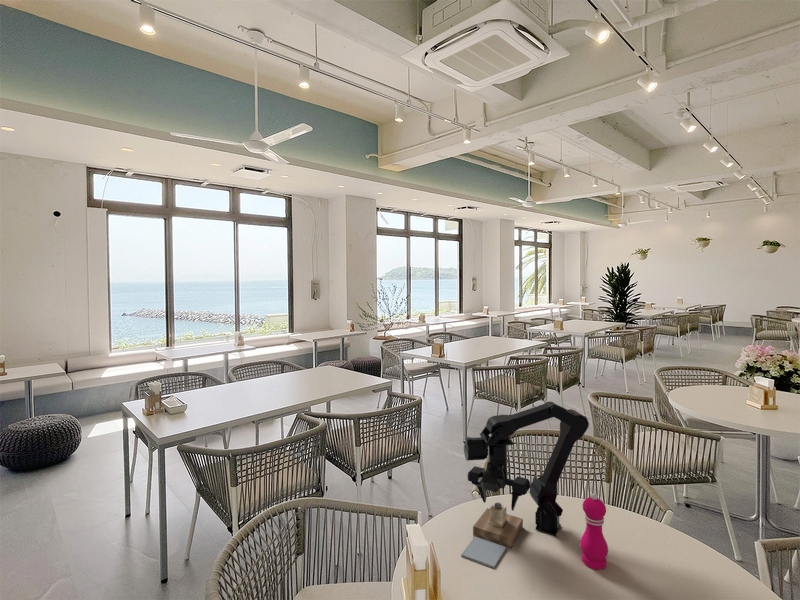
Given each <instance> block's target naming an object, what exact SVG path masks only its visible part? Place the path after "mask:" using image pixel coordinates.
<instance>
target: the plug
mask: <svg viewBox="0 0 800 600" xmlns="http://www.w3.org/2000/svg"><path fill="white" fill-rule="evenodd" d="M489 509H490V525H493V526H496V527H500V528H504V526H505V525H506V514H507V505H504V504H502V503H501V502H494V503H493V504H492V505H491V506H490V508H489Z"/></svg>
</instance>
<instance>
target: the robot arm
mask: <svg viewBox="0 0 800 600" xmlns="http://www.w3.org/2000/svg"><path fill="white" fill-rule="evenodd" d="M552 418H555V419H557V420H559V421H560V423H559V436H558V439H557V440H556V442H555V445H554V448H553V450H552V451H551V454H550V457H549V459H548V462H547V463H546V465H545V468H544V471H543V473H542V475H540V476H539V477H536V476H533V478H532V481H530V480H529V478H527V477H523V476H516V477H515V478H514V479H512V478H508V476H510V475H509V471H508V464H509V459H508V446H512V445H513V446H514V444H515V443H514V441H513V440H511V438H510V437H511V436H513V435H514V434H515V433H516V432H517V431H518V430H520V429H523V428H526V427H528V426H532V425H535V424H537V423H541V422H543V421H546V420H548V419H552ZM589 425H590V423H589V420H588V418H587V417H586V416H585V415H583V414H581V413H580V412H579V411H577V410H576V409H567V408H565V407H563V406H560V405H559V404H556V403H555V402H554V401H546V402H545V403H543V404H541V405H537V406H534V407H531V408H528V409H525V410H522V411H519V412H517V413H513V414H498V415H493V416H490V417H489V418H488V419H487V420H486V425H485V427H484V428H483V430H481V432H480V433H479V436H480V437H469V436H467V437H465V441H464V445H463V452H464V458H465V460H466V461H481V460H483V461H484V460H486V459H488V462H486V469H485V467H480V466H477V465H476V466H473V467H472V468H471V469H470V470H469V471H468V472H467V481H468V482H471V484H472V485H474V486H475V487H477V489H478V491H479V494H480V496H481V499H482V502H483V503H484V504H485V503H486V502H487V491H490V492H492V493H497V492H498V491H499V490H500V489H505V488H506V486H510V487H511V490H512V492H511V493H510V494H511V505H510V506H511V507H510V508H511V511H514V510H515V508H516V505H517V502H518V500H519V497H522V496H525V495H526V494H527V493H528V491H529V495H530V497H531V498H532V499H533V501H534V503H535V504H536V505H537V507H536V508H537V509H536V511H535V513H534V514H535V519H534V520H535V530H536V531H539V532H543V533H546V534H548V535H552V536H558V533H559V531H560V529H561V526H562V524H561V523H560V517H561V516H562V515H563V511H564V509H563V508H562V506H560V504H559V503H558V502H557V497H558V482H559V480H560V478H561V475H562V473H563V470H564V468H565V466H566V464H567V461H568V459H569V457H570V454H571V452H572V451H573V448H574V445H575V443H576V442H577V441H579V440H580V439H581V438H583V437H584V435H585V434H586V432H587V430H589Z"/></svg>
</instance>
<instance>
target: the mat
mask: <svg viewBox="0 0 800 600" xmlns="http://www.w3.org/2000/svg"><path fill="white" fill-rule="evenodd" d="M506 550H507V547H506V546H503V545H500V544H497V543H494V542H491V541H488V540H485V539H482V538H479V537H476V536H473V538H472V540H471V541H470V542H469V543H468V544H467V546H466V547H465V549H464V550H463V551H462V553H461V555H460V556H461V558H465V559H467V560H470V561H473V562H475V563H478V564H480V565H484V566H486V567H489V568H491V569H495V568H496V566H497V565H498V563H499V562H500V560H501V558H502V556H503V555H504V554H505V551H506Z"/></svg>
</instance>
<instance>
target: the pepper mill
mask: <svg viewBox="0 0 800 600" xmlns="http://www.w3.org/2000/svg"><path fill="white" fill-rule="evenodd" d="M582 510H583V511H584V518H583V519H584V521H585V523H586V526H585V530H584V532H583V534H582V535H581V538H580V541H579V542H580V544H579V547H580V550H581V561H582V563H583V565H585V566H586V567H588V568H589V569H593V570H599V571H600V570H604V569H605V568H606V566H607V556H608V554H609V546H608V543H607V541H606V539H605V537H604V533H603V526H604V524H605V515H606V513H607V507H606V504H605V503H604V501H603V500H602V499H600V498H599V496H598V494H597V493H596V492H594V493H591V494H590V496H589V497H587V498H585V499H584V500H583V502H582Z"/></svg>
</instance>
